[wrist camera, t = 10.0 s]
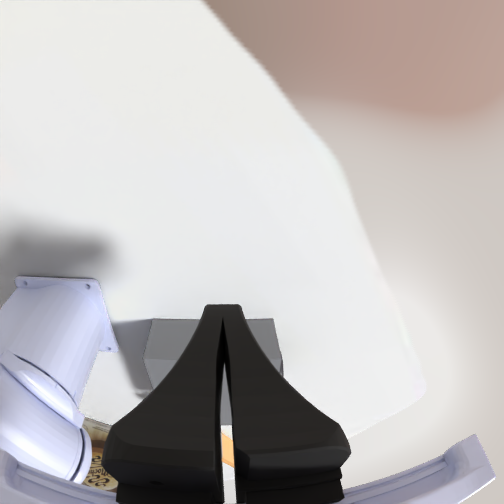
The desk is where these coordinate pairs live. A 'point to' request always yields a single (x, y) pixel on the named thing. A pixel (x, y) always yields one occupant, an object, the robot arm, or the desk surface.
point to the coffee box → (98, 457)
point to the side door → (227, 450)
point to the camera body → (177, 338)
